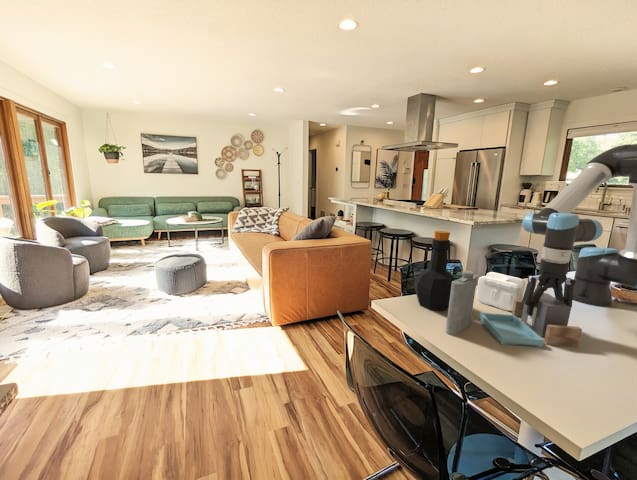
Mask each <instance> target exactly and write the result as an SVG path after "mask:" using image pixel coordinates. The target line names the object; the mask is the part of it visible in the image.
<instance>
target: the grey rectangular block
mask: <svg viewBox="0 0 637 480" xmlns="http://www.w3.org/2000/svg"><path fill="white" fill-rule="evenodd" d="M527 307H528V305H526V304H524V307H523V313H522V317H520V318H521V319H520V320H521V321H522V322H524V324H525V325H527V326H528V327H529V328H530V329H531V330H532V331H534V332H535V333H536V334H537V335H538V336H540V337H541V338H542V339H543V338H544V339H545V334H546V329H547V325H560V326H569V325H568V324H569V319H570V316H571V311H572V307H569V306H568V305H566V304H564V303H563V302H561V301H559V300H557V299H556V298H555V296H553V295H551V294H549V293H547V292H546V293H545V292H544V293H543V295H542V296H541V298H540V299H539V300H538V302H537V304H536V306H535V307H536V308H537V312H536V317H535V322H534V326H531V325H530V324H528V323H527V319H528V314H527V313H526V312H527Z"/></svg>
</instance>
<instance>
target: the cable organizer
mask: <svg viewBox="0 0 637 480" xmlns="http://www.w3.org/2000/svg"><path fill="white" fill-rule="evenodd" d="M477 279H478V281H477V285H476V291H475V298H476V300H477V301H478V302H480V303H481V304H483V305H487V306H493V307H496V308H498V309H500V310H502V309H503V311H507V312H512V311H513V305H514V300H522V299H523V296H524V293H525V289H526V282H525V280H524V279H522V278H520V277H516V276H512V275H507V274H504V273H499V272H496V271H495V272H494V271H490V272H487V273H486V275H483V276H479V278H477Z"/></svg>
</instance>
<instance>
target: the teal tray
mask: <svg viewBox="0 0 637 480" xmlns="http://www.w3.org/2000/svg"><path fill="white" fill-rule="evenodd" d="M477 319H478V320H479V322H480V323H481V324H482V325H483V326H484V327H485V328H486V329H487V331H488V332H489V333H490V334H491V335H492V336H493V337H494V338H495V339H496V341H498V343H499V345H506V346H508V345H509V346H519V347H520V346H521V347H534V348H535V347H536V348H543V345H544V339H543V338H541V337H540V336H539V335H538V334H537V333H535V332H534V331H533V330H532V329H531V328H529V327H528V326H527V325H526V324H525V323H523V322H522V321H521V319H519V317H516V316H515V315H512V314H506V313H505V314H503V313H502V314H501V313H490V312H478V318H477Z"/></svg>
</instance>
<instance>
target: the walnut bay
mask: <svg viewBox="0 0 637 480" xmlns="http://www.w3.org/2000/svg"><path fill="white" fill-rule="evenodd" d="M523 307H524V303H523V302H522V300H514V305H513V311H511V315H515V316H516V317H517V318H522V313H523ZM582 330H583V329H582V328H581V327H580V326H573V325H572V326H569V325H567V326H560V325H547V329H546V334H545V338H544V339H543V340H544V341H543V344H546V345H550V346H557V347H558V346H561V347H570V348H571V347H573V348H579V344H580V340H581V335H582V332H583V331H582Z"/></svg>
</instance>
